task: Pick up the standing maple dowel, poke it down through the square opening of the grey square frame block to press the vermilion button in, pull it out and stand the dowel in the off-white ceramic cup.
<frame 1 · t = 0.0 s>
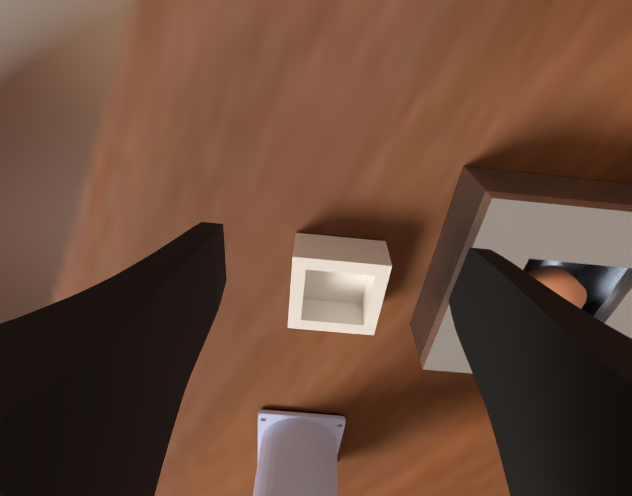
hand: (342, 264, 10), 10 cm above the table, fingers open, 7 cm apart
grey square frame block: (524, 265, 23), on the table
holder: (335, 272, 23), on the table
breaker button: (548, 294, 20), point 3 cm above the table, slide at 0.0 cm
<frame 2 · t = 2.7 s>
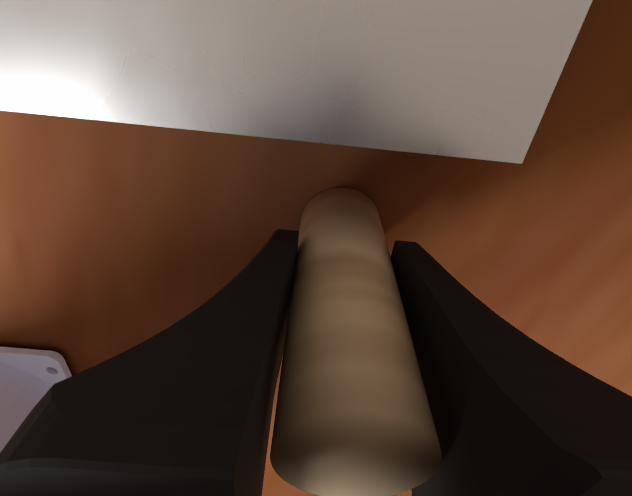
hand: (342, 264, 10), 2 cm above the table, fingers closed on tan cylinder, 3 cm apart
tan cylinder: (339, 223, 12), on the table, touching gripper
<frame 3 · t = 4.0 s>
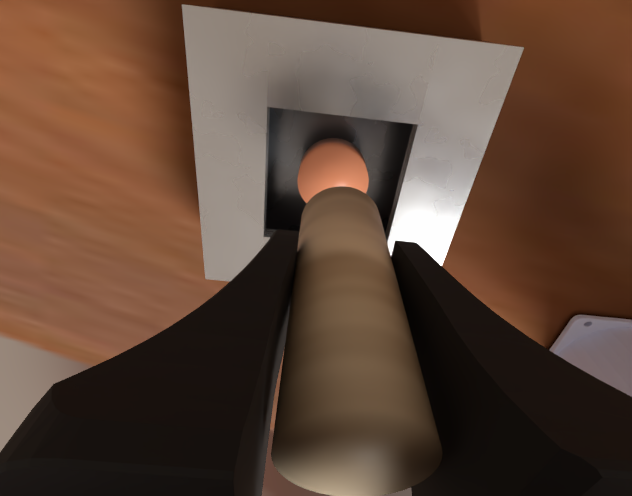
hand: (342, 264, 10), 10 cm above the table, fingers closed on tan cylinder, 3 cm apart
tan cylinder: (340, 222, 13), point 7 cm above the table, touching gripper
grey square frame block: (332, 156, 19), on the table
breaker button: (332, 176, 16), point 3 cm above the table, slide at 0.0 cm
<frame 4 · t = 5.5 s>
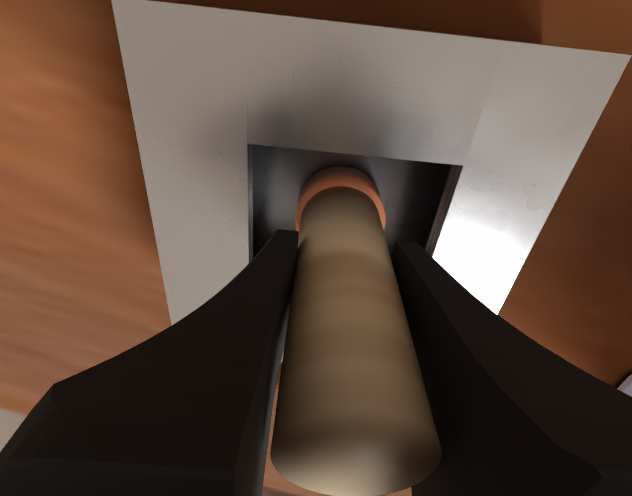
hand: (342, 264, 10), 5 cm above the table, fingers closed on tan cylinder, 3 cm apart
tan cylinder: (339, 222, 13), point 3 cm above the table, touching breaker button, gripper
grey square frame block: (338, 193, 15), on the table
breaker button: (339, 214, 13), point 2 cm above the table, slide at 1.0 cm, touching tan cylinder
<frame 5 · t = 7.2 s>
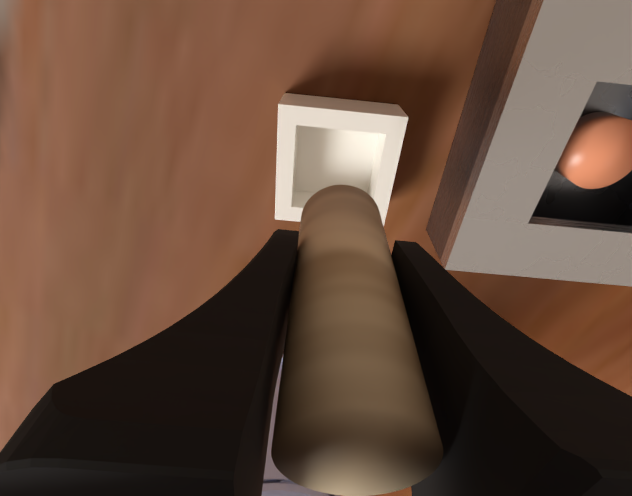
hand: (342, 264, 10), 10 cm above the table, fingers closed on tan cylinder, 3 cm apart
tan cylinder: (340, 221, 12), point 7 cm above the table, touching gripper
grey square frame block: (572, 139, 18), on the table
holder: (334, 154, 19), on the table
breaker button: (596, 151, 16), point 2 cm above the table, slide at 1.0 cm
when the fingers open (4 cm above the table, at t = 8.6 s): tan cylinder stays where it is, resting on holder.
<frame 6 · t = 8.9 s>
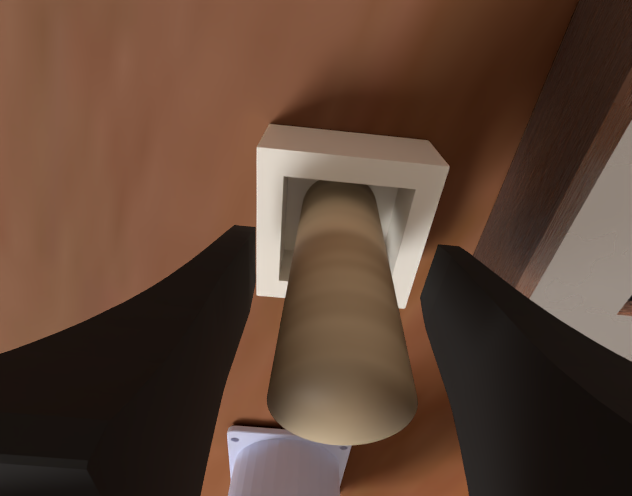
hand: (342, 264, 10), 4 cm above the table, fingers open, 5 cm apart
tan cylinder: (339, 209, 13), point 1 cm above the table, touching holder
holder: (338, 204, 14), on the table
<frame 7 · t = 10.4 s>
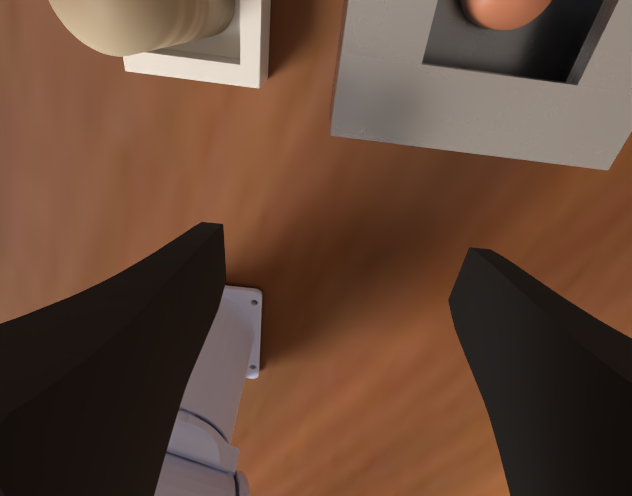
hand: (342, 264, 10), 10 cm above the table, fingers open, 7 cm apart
holder: (206, 1, 15), on the table
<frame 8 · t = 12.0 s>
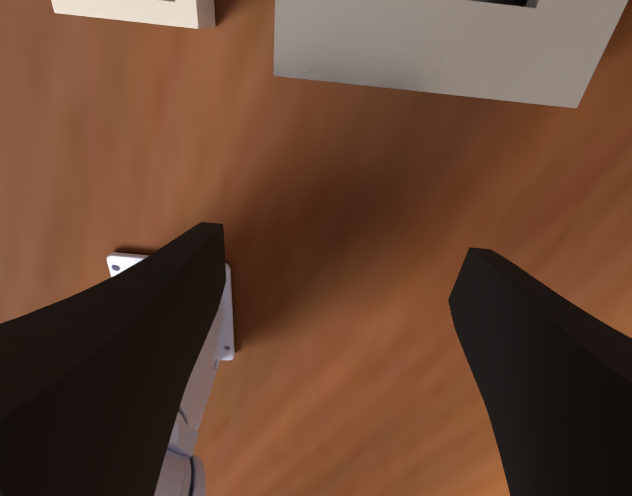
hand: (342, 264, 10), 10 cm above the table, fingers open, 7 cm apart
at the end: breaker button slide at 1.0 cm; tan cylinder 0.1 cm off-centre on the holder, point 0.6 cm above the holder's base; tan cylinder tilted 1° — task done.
